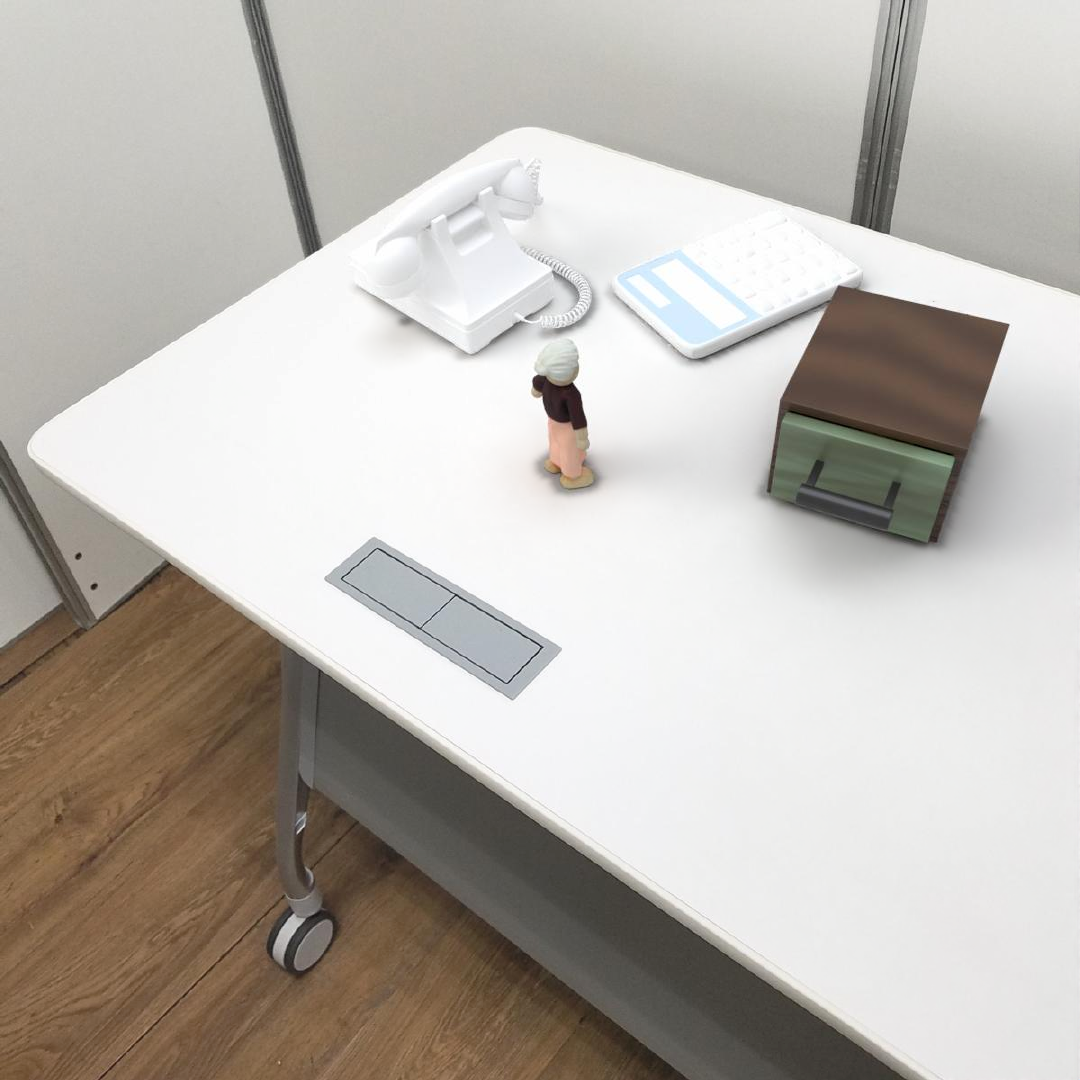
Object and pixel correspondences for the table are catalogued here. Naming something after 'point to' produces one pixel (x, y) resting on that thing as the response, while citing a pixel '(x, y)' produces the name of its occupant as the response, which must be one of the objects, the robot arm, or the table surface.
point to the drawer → (860, 476)
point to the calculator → (735, 283)
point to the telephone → (466, 258)
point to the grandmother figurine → (563, 412)
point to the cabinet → (897, 374)
